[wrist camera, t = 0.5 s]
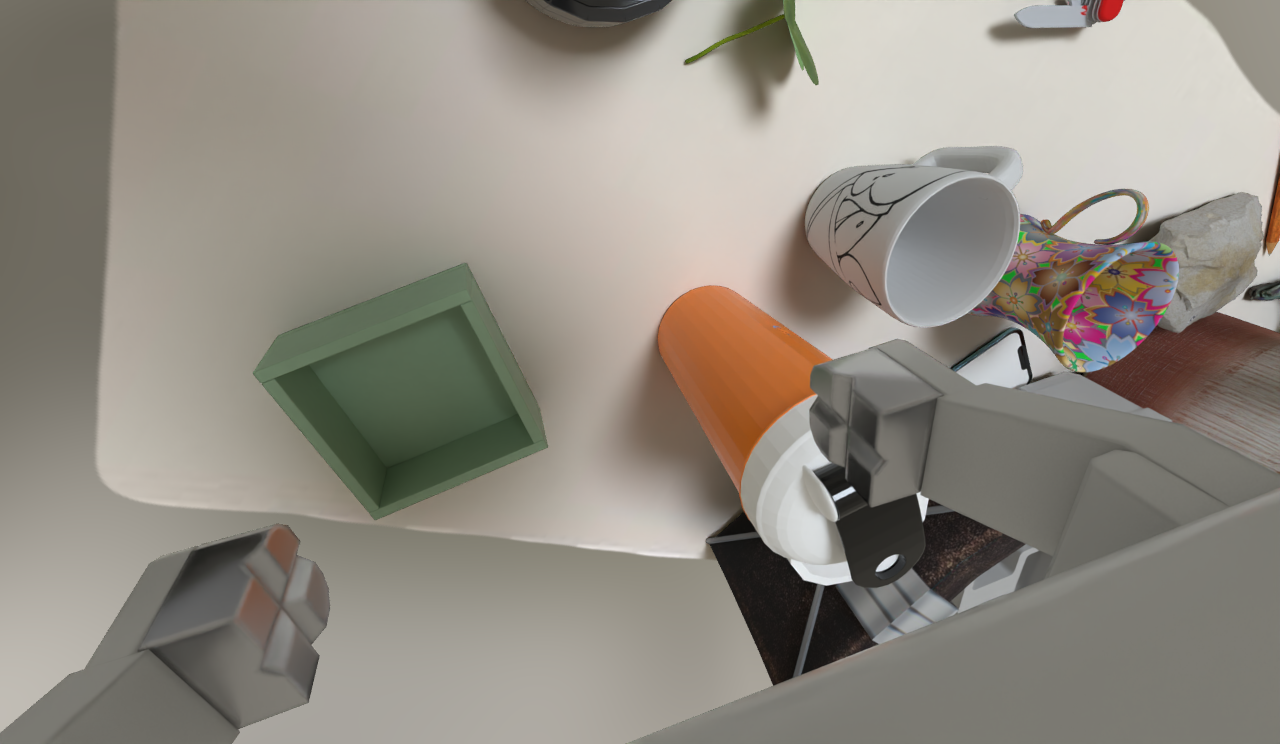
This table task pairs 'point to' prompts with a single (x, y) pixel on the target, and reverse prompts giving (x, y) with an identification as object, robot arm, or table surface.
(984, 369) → the smartphone
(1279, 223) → the pencil
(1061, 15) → the swiss army knife
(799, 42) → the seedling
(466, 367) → the bin
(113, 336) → the table surface
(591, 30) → the table surface
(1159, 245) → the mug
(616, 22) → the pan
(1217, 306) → the stone
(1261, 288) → the bird figurine
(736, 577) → the book
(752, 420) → the shaker bottle
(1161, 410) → the planter
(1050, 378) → the grey desk organizer
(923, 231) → the mug
